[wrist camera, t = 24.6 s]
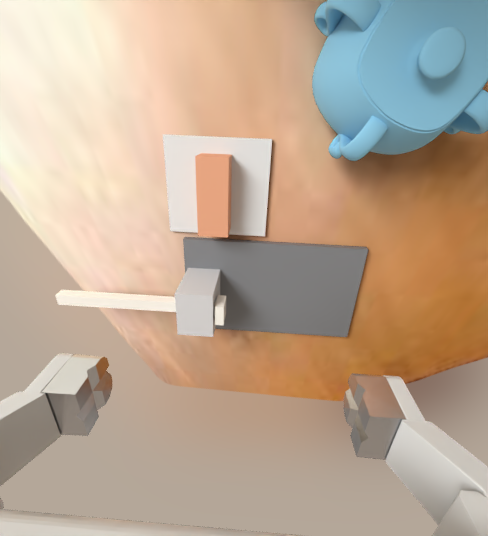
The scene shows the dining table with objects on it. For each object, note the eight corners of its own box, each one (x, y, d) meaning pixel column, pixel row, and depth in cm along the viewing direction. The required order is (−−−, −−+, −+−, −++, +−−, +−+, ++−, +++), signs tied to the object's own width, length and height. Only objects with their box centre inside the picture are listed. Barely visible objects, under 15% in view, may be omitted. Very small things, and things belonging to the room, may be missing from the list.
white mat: (164, 134, 38) (162, 134, 38) (272, 139, 38) (272, 139, 37) (171, 229, 44) (170, 231, 43) (265, 234, 43) (265, 236, 43)
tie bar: (60, 285, 43) (47, 296, 40) (226, 295, 42) (223, 307, 39) (65, 302, 44) (52, 314, 41) (225, 313, 43) (223, 325, 41)
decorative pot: (309, 159, 39) (331, 176, 27) (306, 1, 32) (334, -73, 19) (440, 144, 37) (527, 155, 25) (468, -26, 30) (608, -126, 18)
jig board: (184, 236, 44) (168, 261, 36) (366, 246, 43) (389, 274, 36) (189, 323, 51) (176, 359, 43) (345, 333, 50) (360, 372, 43)
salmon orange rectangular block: (201, 153, 38) (195, 156, 35) (231, 154, 38) (228, 157, 35) (203, 226, 43) (197, 235, 39) (230, 228, 43) (227, 237, 39)
